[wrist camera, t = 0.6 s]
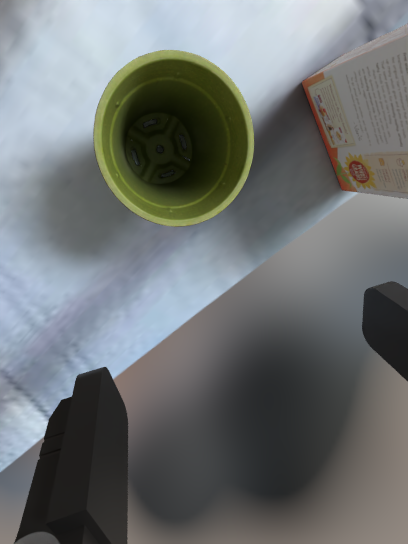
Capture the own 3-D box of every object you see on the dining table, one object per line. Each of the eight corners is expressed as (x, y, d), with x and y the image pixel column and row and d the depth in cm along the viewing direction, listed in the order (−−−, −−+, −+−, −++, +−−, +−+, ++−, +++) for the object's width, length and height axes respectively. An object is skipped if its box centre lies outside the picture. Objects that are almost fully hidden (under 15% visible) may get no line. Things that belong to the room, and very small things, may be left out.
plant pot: (164, 227, 36) (181, 256, 25) (76, 148, 31) (54, 144, 20) (235, 150, 35) (284, 148, 24) (157, 56, 30) (176, 3, 19)
